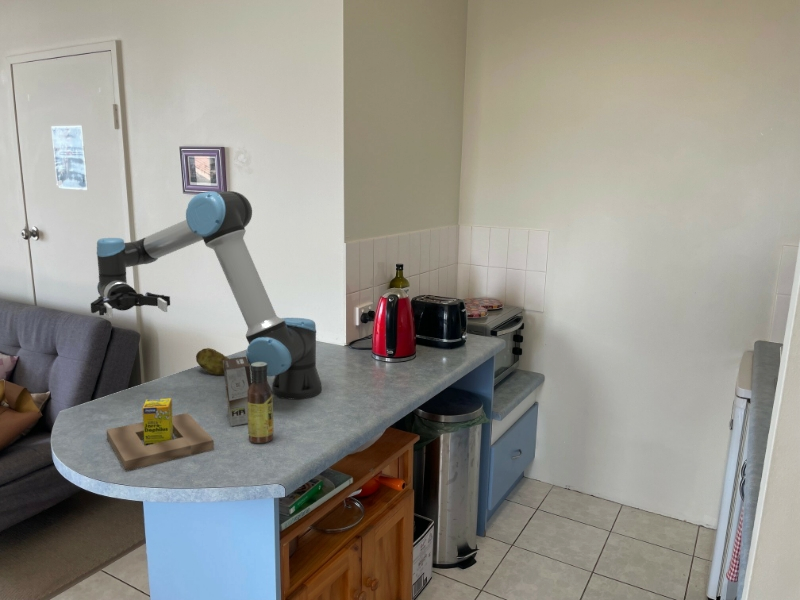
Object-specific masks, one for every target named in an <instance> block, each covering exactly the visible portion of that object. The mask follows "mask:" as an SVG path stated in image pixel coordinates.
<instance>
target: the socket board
mask: <svg viewBox="0 0 800 600" xmlns="http://www.w3.org/2000/svg"><path fill="white" fill-rule="evenodd" d="M172 421H173V436H175V438H174V439H173V440H169V441H164V442H160V443H156V444H151V445H147V446H144V442H142V441H144V428H143V421H142V422H137V423H132V424H126V425H122V426H117V427H113V428H108V429H106V439H107V441H108V443H109V444H110V446H111V448H112V450H113V451H114V454H115V456H116V457H117V459H118V461H119V463H120V464H121V466H122V468H123V467H124V468H123V469H124V471H125V472H130V471H133V469H134V470H137V468H138V469H142V468H146V467H149V466H155V465H158V464H161V463H165V462H170V461H174V460H176V459H177V460H178V459H181V458H182V459H183V458H185V457H189V456H193V455H197V454H202V453H205V452H209V451H213V450H215V447H214V446H215V444H214V442H215V441H214V440H215V439H214V438H212V436H210V435H209V434H208V433H207V431H206V430H205V429H204V428H203V427H202V426H201V425H200V424H199V423H198V421H196V420H195V419H194V418H193V417H192V416H191V415H190V413H188V412H186V413H185V412H184V413H181V414H175V415H172ZM141 467H142V468H141ZM129 470H130V471H129Z"/></svg>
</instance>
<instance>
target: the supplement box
mask: <svg viewBox="0 0 800 600" xmlns="http://www.w3.org/2000/svg"><path fill="white" fill-rule="evenodd" d="M172 400H173V399H172V398H171V397H170V398H155V399H154V398H153V399H150V398H149V399H147V398H146V399H145V402H144V405H143V406H142V422H143V428H144V440H143V444H144V446H147V445H151V444H156V443H160V442H164V441H169V440H173V438H174V434H173V421H172V416H173V404H172V403H173V402H172Z"/></svg>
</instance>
